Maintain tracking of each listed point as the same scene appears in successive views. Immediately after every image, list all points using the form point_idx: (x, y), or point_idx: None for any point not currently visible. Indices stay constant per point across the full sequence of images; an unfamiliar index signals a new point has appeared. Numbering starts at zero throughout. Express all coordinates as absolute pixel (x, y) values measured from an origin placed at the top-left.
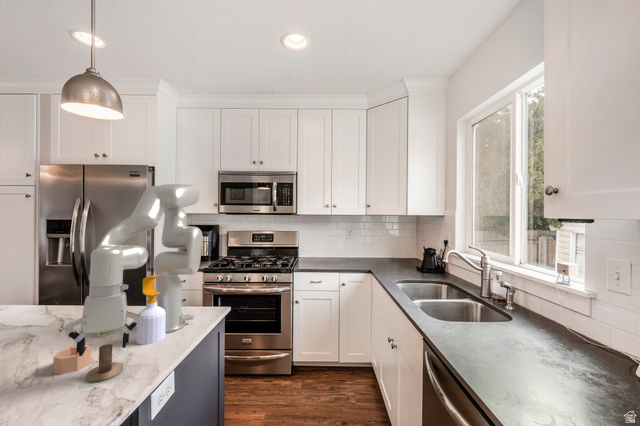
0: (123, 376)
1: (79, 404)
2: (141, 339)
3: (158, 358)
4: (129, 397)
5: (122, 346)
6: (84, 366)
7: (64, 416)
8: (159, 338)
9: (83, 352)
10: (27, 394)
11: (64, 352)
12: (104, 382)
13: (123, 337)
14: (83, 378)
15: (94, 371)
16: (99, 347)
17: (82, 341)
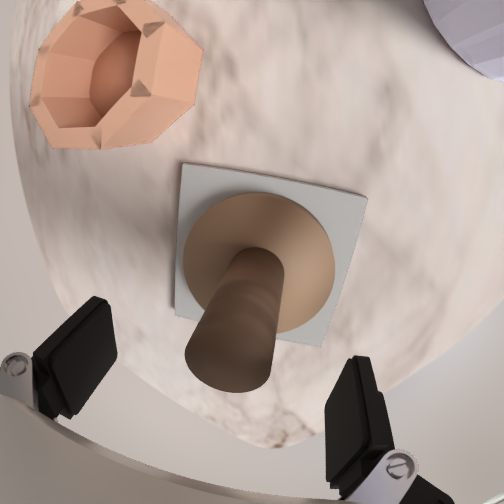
0: (319, 337)
1: None
2: (460, 30)
3: (470, 256)
4: (308, 420)
5: (325, 415)
6: (171, 118)
7: (173, 392)
8: None
9: (110, 341)
10: (55, 216)
11: (63, 41)
12: None
13: (330, 467)
14: (178, 245)
15: (212, 248)
16: (186, 354)
17: (68, 410)
